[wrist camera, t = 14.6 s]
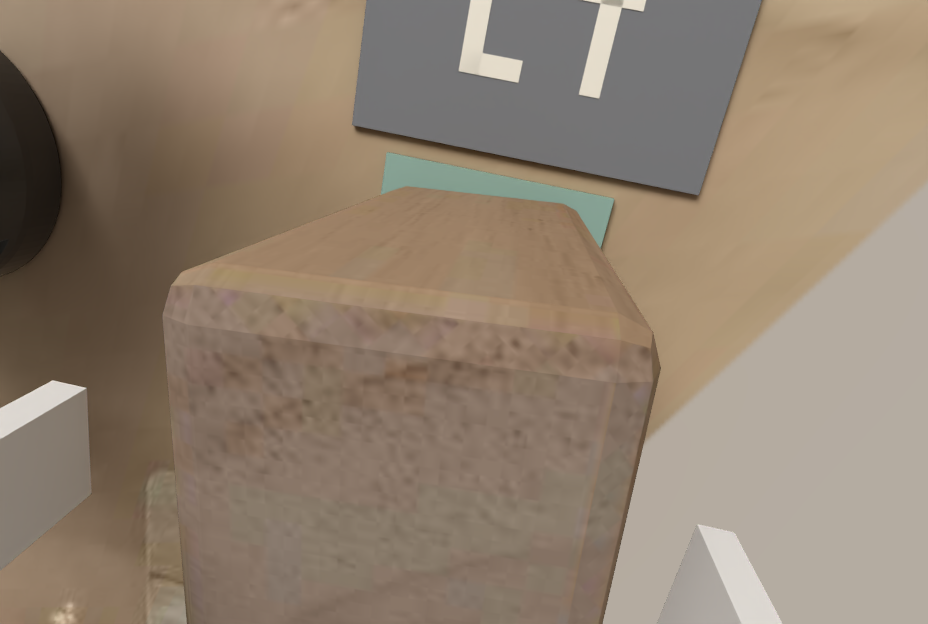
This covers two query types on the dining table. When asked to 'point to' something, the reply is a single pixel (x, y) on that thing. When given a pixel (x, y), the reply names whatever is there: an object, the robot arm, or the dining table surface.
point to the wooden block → (407, 417)
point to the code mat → (559, 80)
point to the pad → (494, 188)
